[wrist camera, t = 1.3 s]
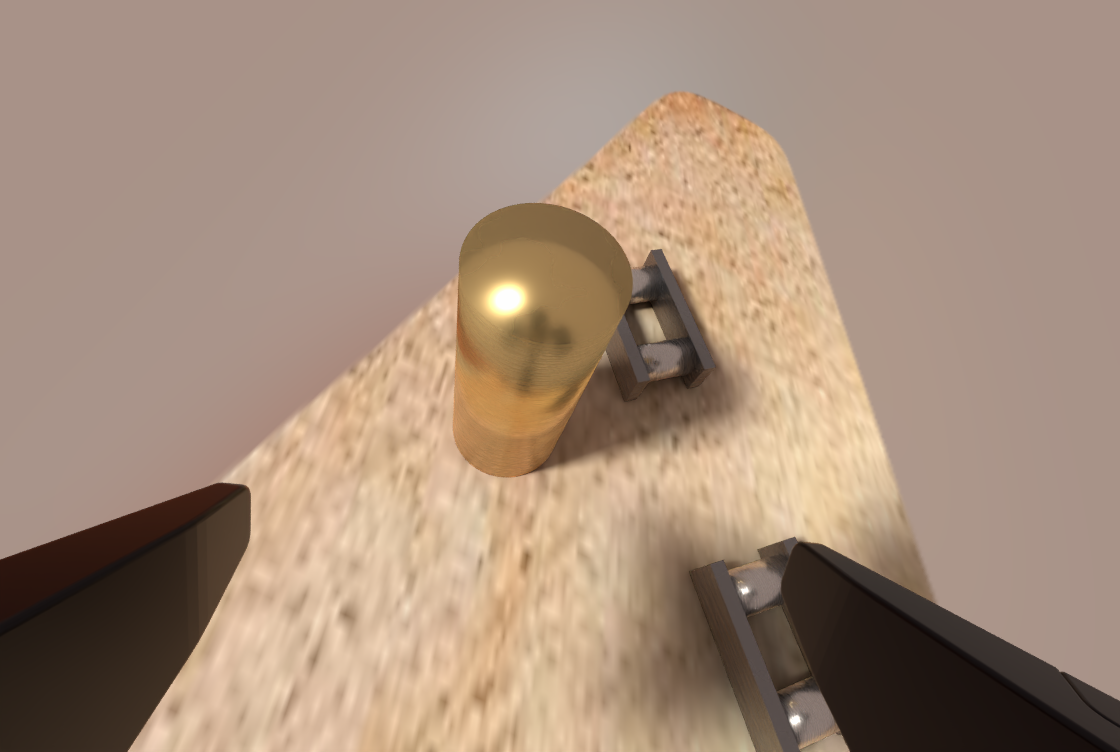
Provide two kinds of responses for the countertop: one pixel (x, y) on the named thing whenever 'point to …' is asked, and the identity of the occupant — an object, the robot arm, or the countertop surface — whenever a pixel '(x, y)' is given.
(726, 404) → the countertop surface
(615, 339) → the chain end
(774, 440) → the countertop surface
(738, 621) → the chain end
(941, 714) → the robot arm
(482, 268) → the link pin
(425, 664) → the countertop surface
